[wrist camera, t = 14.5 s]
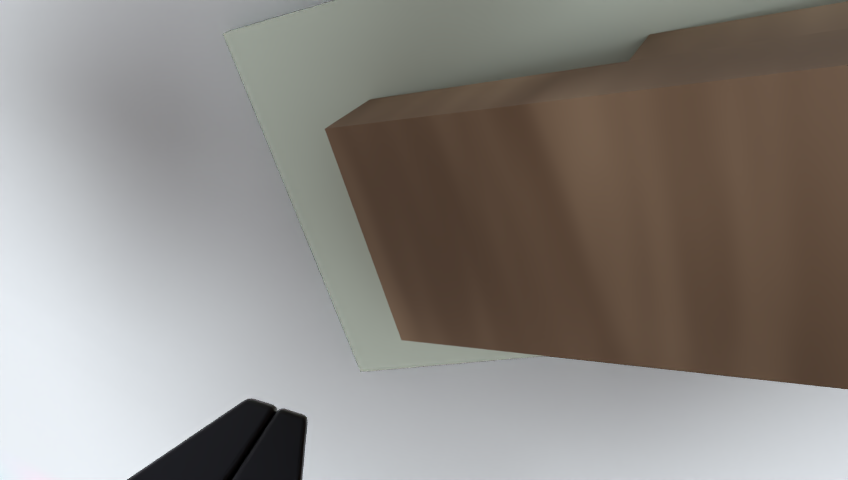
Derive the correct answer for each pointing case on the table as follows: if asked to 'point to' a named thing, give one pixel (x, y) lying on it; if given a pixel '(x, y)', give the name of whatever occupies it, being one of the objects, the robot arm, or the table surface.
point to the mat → (409, 73)
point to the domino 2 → (745, 31)
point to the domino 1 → (621, 210)
